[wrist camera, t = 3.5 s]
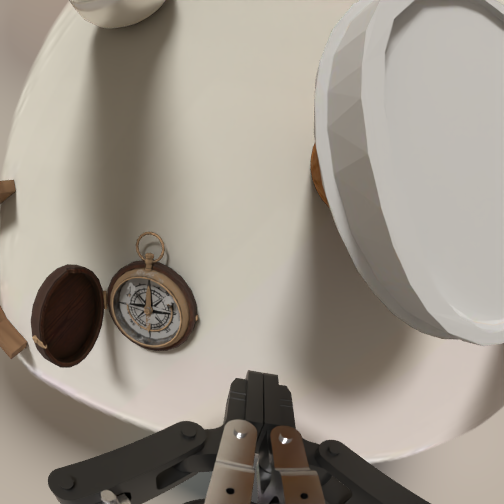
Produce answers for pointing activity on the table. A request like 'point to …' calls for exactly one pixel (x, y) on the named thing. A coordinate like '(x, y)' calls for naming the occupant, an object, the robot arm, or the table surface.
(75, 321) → the compass
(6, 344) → the brown segmented arc
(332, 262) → the table surface
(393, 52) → the disposable coffee cup
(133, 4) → the plastic bottle
